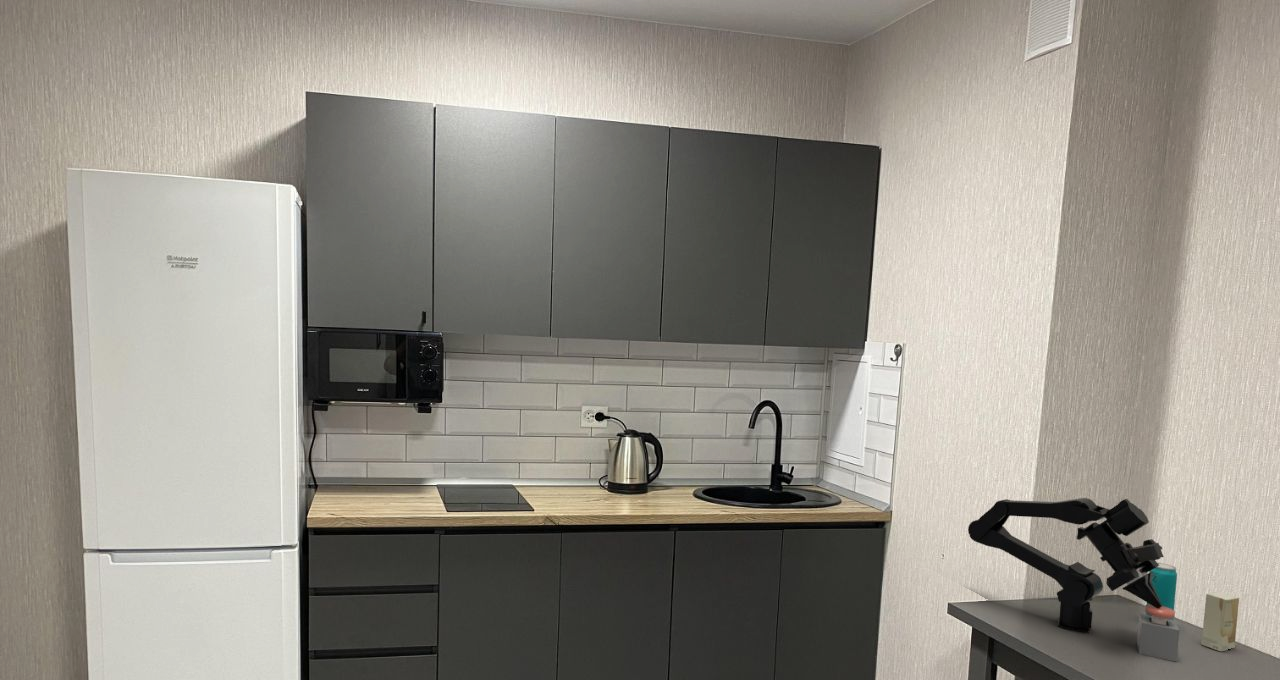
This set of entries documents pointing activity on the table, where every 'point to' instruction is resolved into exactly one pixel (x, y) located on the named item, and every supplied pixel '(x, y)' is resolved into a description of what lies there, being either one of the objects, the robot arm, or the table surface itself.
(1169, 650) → the button housing
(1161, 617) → the red plunger
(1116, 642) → the table surface
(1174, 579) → the beverage can
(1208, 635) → the skincare box
